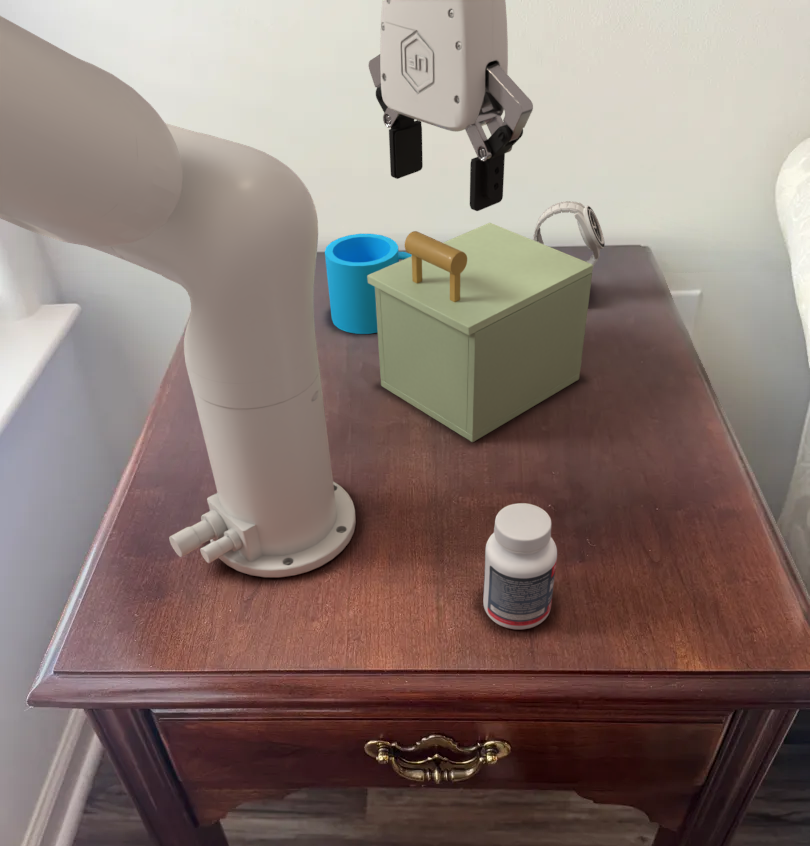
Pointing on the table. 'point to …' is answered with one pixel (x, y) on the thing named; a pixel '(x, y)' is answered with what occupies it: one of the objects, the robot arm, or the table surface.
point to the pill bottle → (519, 567)
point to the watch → (585, 223)
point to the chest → (482, 359)
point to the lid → (477, 275)
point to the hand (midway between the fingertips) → (445, 189)
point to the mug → (357, 278)
